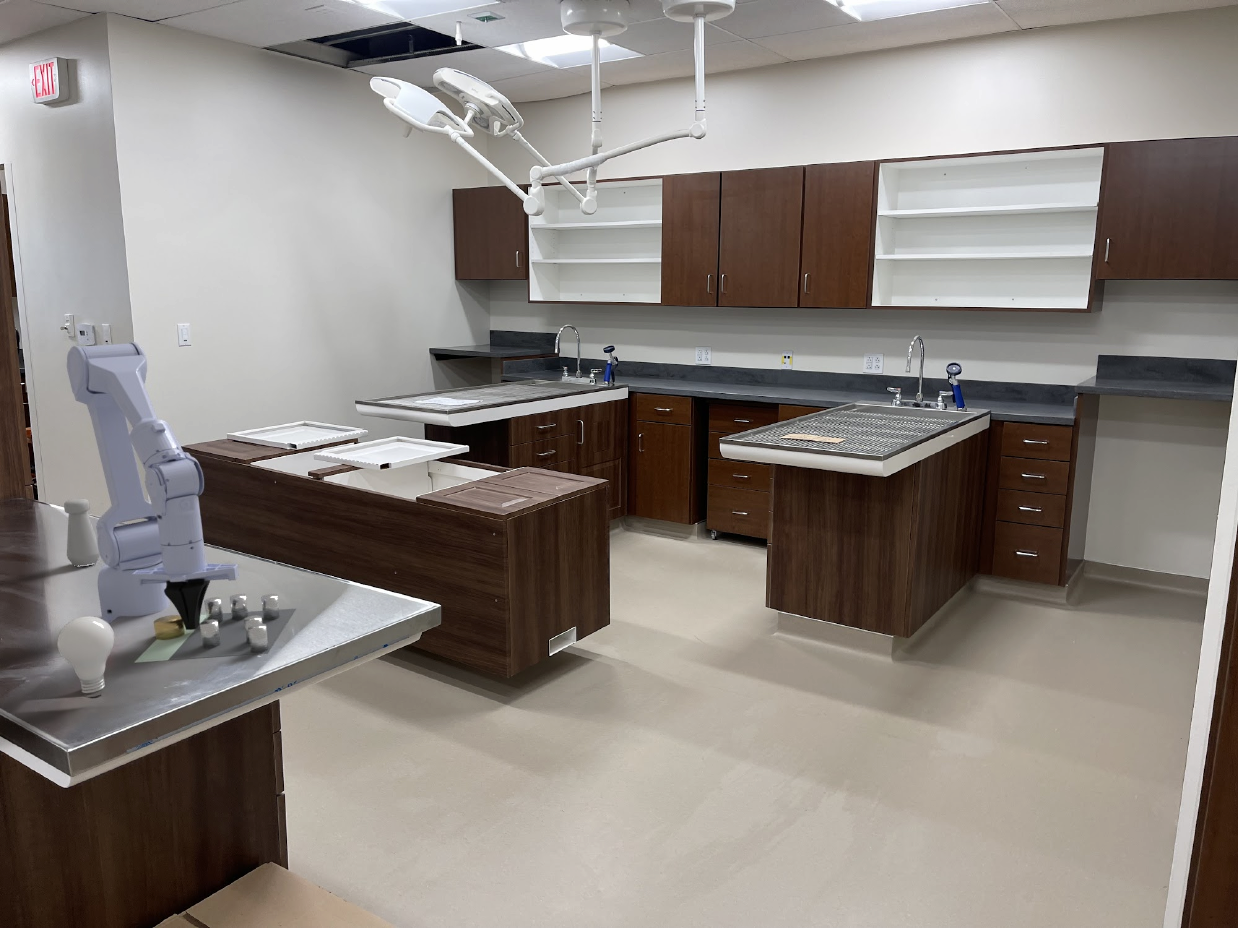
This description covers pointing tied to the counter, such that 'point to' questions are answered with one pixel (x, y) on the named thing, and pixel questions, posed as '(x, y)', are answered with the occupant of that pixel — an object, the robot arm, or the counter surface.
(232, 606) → the spacers
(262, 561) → the counter surface
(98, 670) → the lightbulb
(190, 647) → the mat
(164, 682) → the counter surface
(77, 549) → the salt shaker
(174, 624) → the gold disc
